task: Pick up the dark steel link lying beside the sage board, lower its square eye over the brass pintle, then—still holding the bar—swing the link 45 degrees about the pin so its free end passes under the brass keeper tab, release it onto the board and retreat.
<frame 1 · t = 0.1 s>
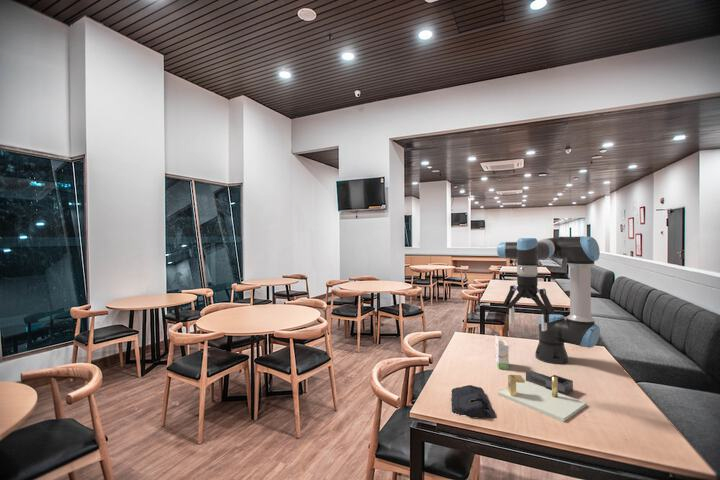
hand: (527, 326, 138), 28 cm above the table, fingers open, 13 cm apart
pintle: (554, 399, 133), resting on board
keeper: (517, 397, 136), resting on board
black flat irregular piece: (471, 404, 131), on the table
link: (527, 379, 152), on the table
board: (540, 400, 133), on the table
ink box: (501, 366, 168), on the table
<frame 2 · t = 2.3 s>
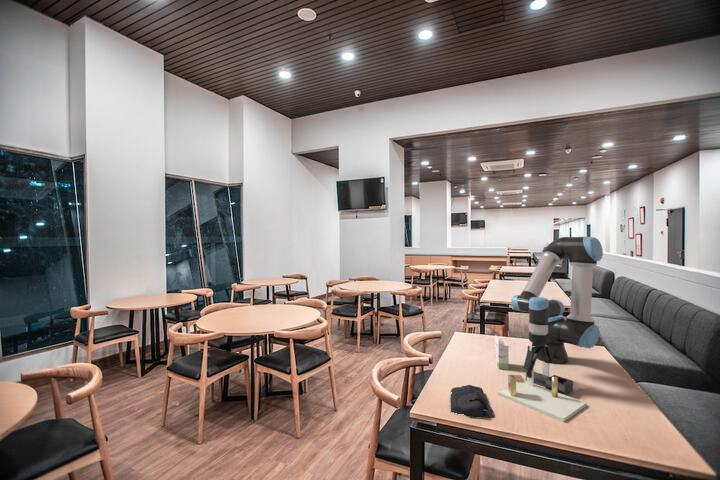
hand: (538, 381, 148), 1 cm above the table, fingers open, 13 cm apart
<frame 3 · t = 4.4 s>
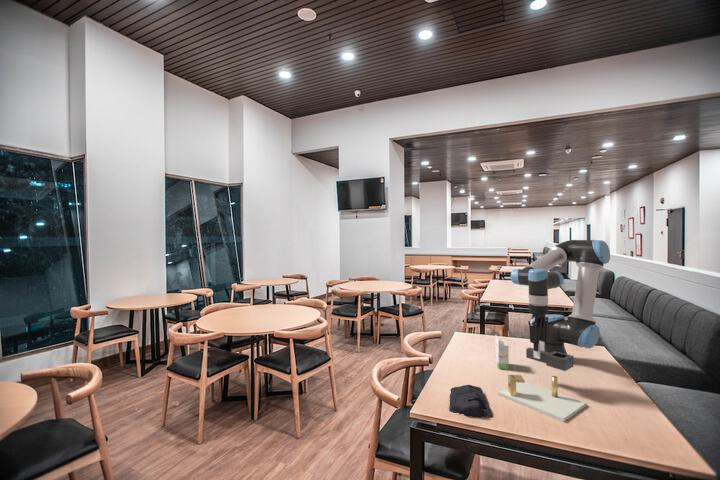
hand: (539, 356, 148), 12 cm above the table, fingers closed on link, 3 cm apart
link: (528, 356, 152), point 10 cm above the table, touching gripper
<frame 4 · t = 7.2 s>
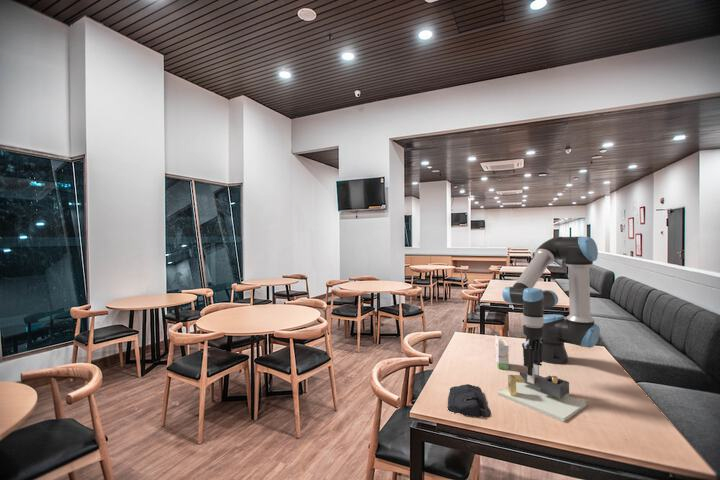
hand: (533, 381, 140), 4 cm above the table, fingers closed on link, 3 cm apart
link: (521, 380, 144), point 3 cm above the table, touching gripper
when the fingers open (3 cm above the table, at t = 10.2 s): link stays where it is, resting on board.
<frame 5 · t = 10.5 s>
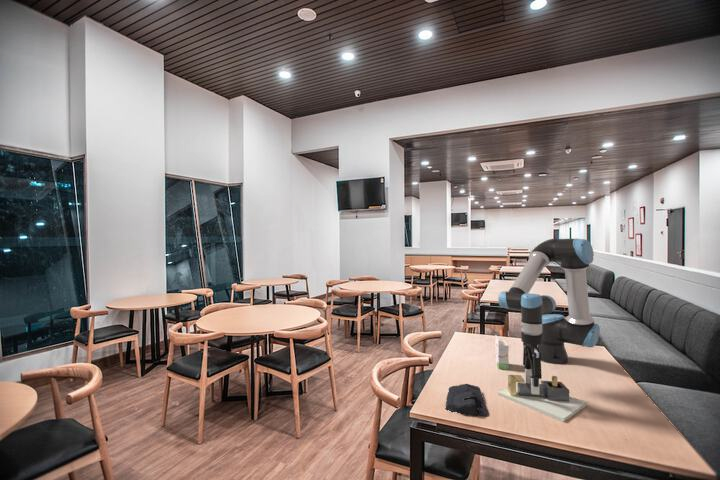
hand: (531, 389, 135), 3 cm above the table, fingers open, 7 cm apart
link: (518, 394, 136), point 1 cm above the table, touching board
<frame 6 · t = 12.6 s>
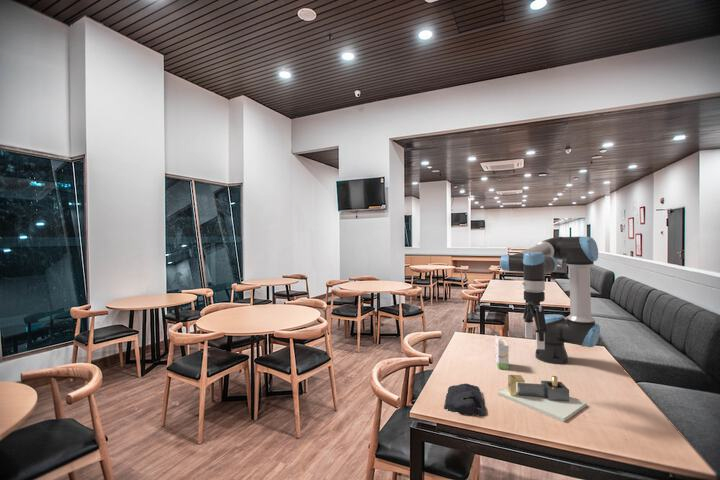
hand: (534, 343, 135), 22 cm above the table, fingers open, 13 cm apart
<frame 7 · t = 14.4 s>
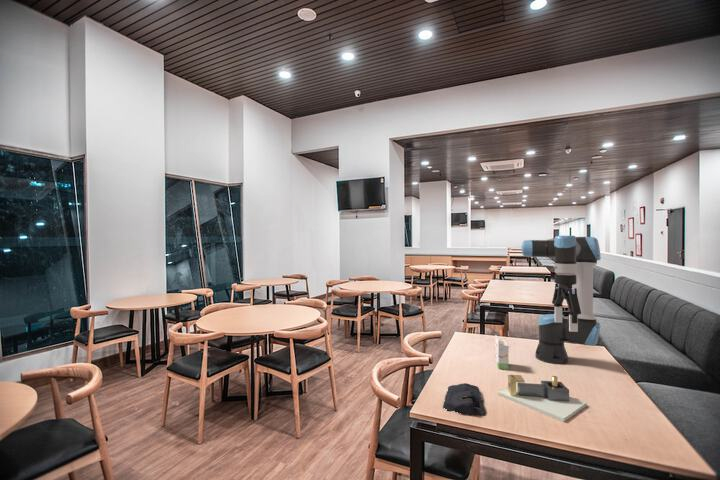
hand: (565, 326, 134), 29 cm above the table, fingers open, 13 cm apart
at the end: link 0.1 cm from the target spot, point 1.2 cm above the table; link 13.5 cm from the pintle (horizontally); the gripper is holding nothing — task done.
